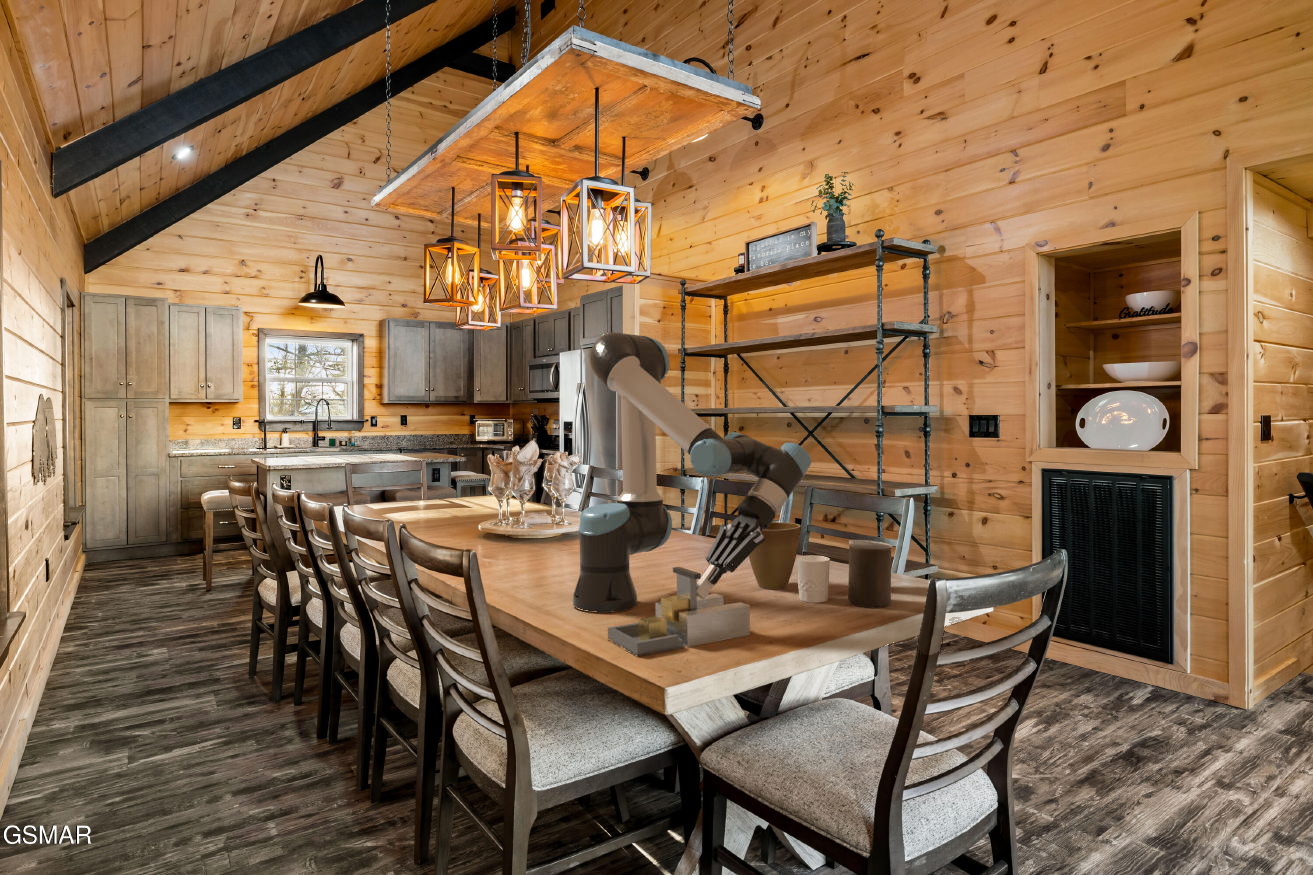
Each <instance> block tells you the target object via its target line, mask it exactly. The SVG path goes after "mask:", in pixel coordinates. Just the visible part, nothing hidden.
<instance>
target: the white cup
mask: <svg viewBox="0 0 1313 875" xmlns="http://www.w3.org/2000/svg"><path fill="white" fill-rule="evenodd" d="M795 560H796V572H797V573H796V574H797V576H796V577H797V588H798V596H799V597H798V599H799V600H800V601H802V602H805V603H811V604H812V603H813V604H814V603H815V604H817V603H818V604H819V603H820V604H821V603H826V602H828V598H829V597H828V595H829V594H828V593H829V592H828V591H829V584H830V569H831V566H830V565H831V564H830V563H831V558H829V557H826V556H822V555H811V554H809V555H799V556H796V559H795Z"/></svg>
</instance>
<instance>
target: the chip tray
mask: <svg viewBox="0 0 1313 875" xmlns="http://www.w3.org/2000/svg"><path fill="white" fill-rule="evenodd" d="M608 639H610V640H611V641H613V642H614V643H616V644H618V645H619V646H622V647H623V648H625V649H626V650H628V651H630V652H631V653H634V654H635V655H637V656H639V657H642V656H641V655H645V656H648V655H647V654H650V655H653V654H652V653H655V654H658V653H657V652H660V653H663V651H665V652H669V651H668V650H670V651H674V650H680V649H684V645H683V640H682V639H680V638H679V636H678V635H676V634H675V635H671V634H669V633H667V636H665V637H659V638H654V639H648V640H643V641H641V640H640V639H639V622H634V623H627V624H621V625H617V626H616V625H615V626H610V627H607V640H608ZM614 643H613V644H614ZM619 646H618V647H619ZM626 650H625V651H626ZM628 651H627V652H628ZM630 652H629V653H630ZM631 653H630V654H631ZM635 655H634V656H635ZM637 656H636V657H637Z"/></svg>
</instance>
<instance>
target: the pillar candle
mask: <svg viewBox="0 0 1313 875" xmlns="http://www.w3.org/2000/svg"><path fill="white" fill-rule="evenodd" d="M868 541H869V543H863V542H858V543H851V544H849V543H848V546H849V547H848V593H847V594H848V595H847V596H848V597H847V599H848V602H849V604H851V605H854V606H857V607H865V608H870V607H881V608H887V607H886V606H888V607H890V606H891V605H892V548H891V546H890V545H891V544H890V545H886V544H879V543H870V541H871V539H868ZM890 604H891V605H890ZM889 605H890V606H889Z"/></svg>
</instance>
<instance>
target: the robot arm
mask: <svg viewBox="0 0 1313 875" xmlns="http://www.w3.org/2000/svg"><path fill="white" fill-rule="evenodd" d="M589 362H590V366H591V369H592V371H593V373H594V375H595V376H596V377H597V378H598V379H599V380H600V382H602V383H603V385H605V387H607V388H608V389H609V390H610V391H612V392H616V393H617V394H618V395H619V396H620V410H621V411H620V413H621V414H620V415H621V417H620V418H621V419H620V420H621V422H620V423H621V463H622V467H621V469H622V470H621V471H622V472H621V473H622V476H621V477H622V492H621V493H620V495H619V496H618V497H617V498H616V502H613V503H612V502H609V503H608V502H607V503H604V504H601V503H600V504H595V505H591V506H589V507H586V508H585V509H584V510H582V511H581V513H580V515H579V525H578V532H579V533H578V534H579V567H580V568H579V571H580V573H579V576H578V580H577V582H576V586H575V589H574V592H573V595H572V606H573V605H574V606H575V607H577V608H580V609H583V610H588V611H597V612H596V613H598V612H606V613H612V612H611V611H618V612H623V611H628V610H632V609H634V608H635V607H637V606H638V594H637V591H636V588H635V584H634V581H633V578H632V575H631V572H630V556H631V555H632V556H633V555H637V554H640V553H647V552H651V551H654V550H655V549H659V548H660V547H662V546H664V544H665V543H666V542H668V540H669V538H670V536H671V534H672V529H673V519H672V518H673V517H672V515H671V513H670V512H669V511H668V509H667V507H666V506H665V505H664V497H663V496H662V495H661V494H660V493H659V492H658V490H657V489H658V488H657V487H658V486H657V480H658V479H657V437H656V436H657V434H656V433H657V432H656V431H657V427H658V428H659V429H660V430H661V431H662V432H663V433H665V434H666V435H667V436H668V437H669V438H670V439H671V440H672V441H673V442H674V443H676V444H677V445H678V446H679V447H680V448H681V449H682V450H684V451H685V452H686V453H687V454H688V455H689V460H690V463H691V465H692V468H693V469H694V470H695V472H696V473H698V474H700V475H702V476H711V477H715V476H721V475H728V474H737V473H747V474H750V476H751V475H752V476H753V477H756V478H758V479H757V481H756V482H755V483H754V484H753V486H752V487H751V489H749V491H748V492H747V493H748V494H747V495H746V496H745V497H744V498H743V500H742V501H741V502H740V504H739V505H738V507H737V511H738V512H737V516H736V517H735V518H734V519H733V520H732V521H731V523H730V524H728V525H726V524H725V523H722V524H720V526H719V530H718V533H717V535H716V537H715V539H714V541H713V543H712V544H711V547H710V549H709V551H708V553H707V555H706V556H705V560H706V562H707V563H708V565H707V567H706V569H705V570H704V572H703V573H702V574H701V579H698V580H697V596H699V597H700V598H702V599H705V598H706V596H707V595H709V594H710V592H711V590H712V589H713V588H714V586H715V585H717V583H719V581H720V579H721V577H722V576H723V575H724V574H726V573H727V572H730V573H734V572H735V571H736V570H737V569H738V568H739V567H740V565H741V564H742V563H744V561H745V560H746V559H747V558H749V555H750V554H751V552H752V551H753V550H754V549H755V548H756V547H757V546H758V545H760V544H761V543H763V542H764V541H765V537H764V536H763V535H762V534H761V532H762V530H765V529H767V528H768V527H769V525H770V524H771V523H772V522H774V519H776V515H778V514H779V513H780V511H781V509H782V507H783V506H784V504H785V503H786V501H787V500H788V499H789V498H790V496H791V494H793V492H794V490H795V489H796V488H797V486H798V485H799V484H800V482H801V481H802V480H803V479H804V478H805V475H806V474H807V472H808V470H809V468H810V467H811V465H812V458H811V455H810V454H809V452H808V451H807V450H806V449H805V448H804V447H803V446H801V445H799V444H798V443H795V442H788V441H787V442H785V443H784V444H783V445H781V446H780V448H777V447H774V446H771V445H769V444H767V443H764V442H761V441H759V440H758V439H755V438H752V437H750V436H749V435H747V434H743V433H739V432H737V431H732V432H729V433H728V434H727V435H725V437H723V436H721V435H720V434H719V433H718V432H717V431H715V430H714V429H713V428H712V427H711V426H710V425H709V424H708V423H706V422H705V420H703V419H702V418H700V416H698V415H697V414H696V413H695V412H694V411H693V410H691V409H690V408H689V407H688V406H687V405H686V404H685V403H683V402H682V401H681V400H680V399H679V398H677V396H676V395H674V394H673V393H672V392H671V391H669V390H668V389H667V388H666V386H664V385H663V384H662V381H663V380H664V379H665V378H666V375H667V374H668V372H669V369H670V357H669V352H668V350H667V349H666V348H665V346H664V345H663V344H662V343H661V341H659V340H657V339H656V338H652V337H650V336H648V335H647V336H646V335H637V334H628V333H622V332H618V331H616V332H608V333H605V334H603V335H602V336H600V337H599V338H598V339H597V340H595V342H594V343H593V345H592V348H591V350H590V353H589Z"/></svg>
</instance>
